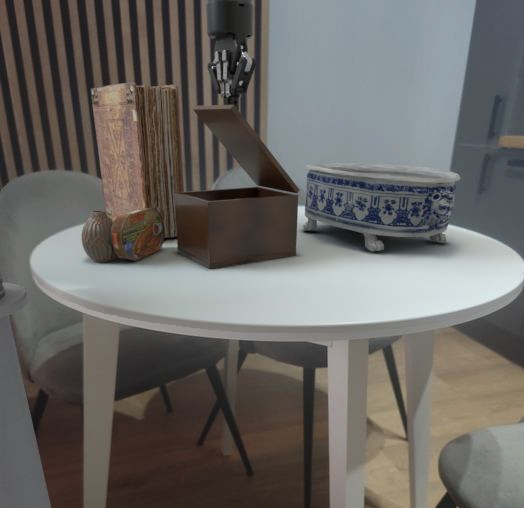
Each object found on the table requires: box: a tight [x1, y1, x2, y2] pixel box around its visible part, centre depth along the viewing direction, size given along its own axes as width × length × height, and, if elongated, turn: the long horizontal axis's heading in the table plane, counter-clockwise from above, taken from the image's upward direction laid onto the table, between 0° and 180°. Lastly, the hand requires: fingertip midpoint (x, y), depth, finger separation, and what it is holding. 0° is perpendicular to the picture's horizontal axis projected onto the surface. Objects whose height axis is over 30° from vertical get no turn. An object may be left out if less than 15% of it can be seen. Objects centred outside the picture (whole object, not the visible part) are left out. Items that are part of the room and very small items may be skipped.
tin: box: [111, 208, 165, 262], centre depth 94 cm, size 15×3×8 cm, turn 161°
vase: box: [81, 209, 118, 263], centre depth 91 cm, size 7×7×9 cm
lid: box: [192, 104, 300, 194], centre depth 90 cm, size 20×14×1 cm
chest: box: [174, 186, 299, 270], centre depth 95 cm, size 19×14×11 cm
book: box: [90, 81, 185, 239], centre depth 110 cm, size 25×9×30 cm, turn 35°
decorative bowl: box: [302, 162, 461, 252], centre depth 109 cm, size 42×27×15 cm, turn 32°
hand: (231, 122), depth 87 cm, fingers closed
